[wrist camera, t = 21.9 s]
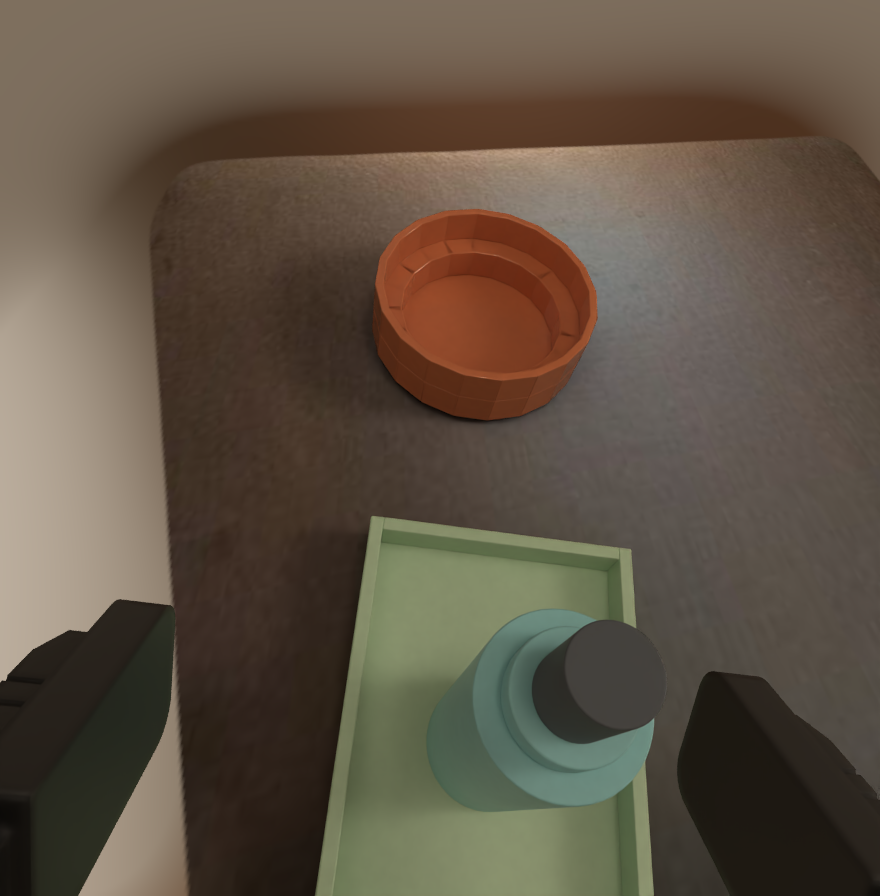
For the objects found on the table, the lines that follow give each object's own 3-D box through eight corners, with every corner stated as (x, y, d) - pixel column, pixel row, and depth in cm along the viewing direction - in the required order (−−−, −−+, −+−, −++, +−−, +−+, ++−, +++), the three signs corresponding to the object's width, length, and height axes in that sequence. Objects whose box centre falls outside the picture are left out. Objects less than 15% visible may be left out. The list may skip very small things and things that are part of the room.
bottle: (420, 805, 31) (498, 789, 15) (432, 672, 34) (507, 549, 18) (546, 818, 31) (742, 815, 16) (546, 685, 34) (712, 576, 19)
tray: (302, 988, 27) (298, 1004, 25) (369, 533, 38) (371, 515, 35) (637, 1015, 28) (663, 1031, 26) (614, 564, 39) (631, 548, 36)
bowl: (359, 407, 42) (361, 360, 37) (386, 249, 49) (391, 194, 44) (575, 438, 43) (601, 395, 38) (571, 279, 50) (593, 227, 45)
